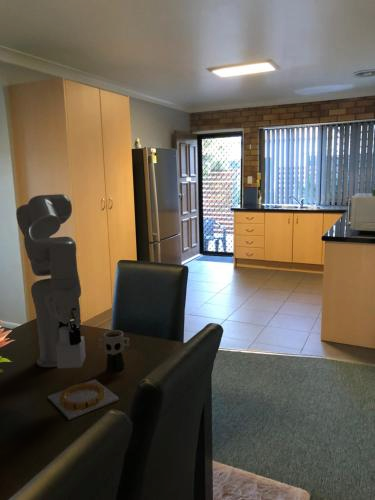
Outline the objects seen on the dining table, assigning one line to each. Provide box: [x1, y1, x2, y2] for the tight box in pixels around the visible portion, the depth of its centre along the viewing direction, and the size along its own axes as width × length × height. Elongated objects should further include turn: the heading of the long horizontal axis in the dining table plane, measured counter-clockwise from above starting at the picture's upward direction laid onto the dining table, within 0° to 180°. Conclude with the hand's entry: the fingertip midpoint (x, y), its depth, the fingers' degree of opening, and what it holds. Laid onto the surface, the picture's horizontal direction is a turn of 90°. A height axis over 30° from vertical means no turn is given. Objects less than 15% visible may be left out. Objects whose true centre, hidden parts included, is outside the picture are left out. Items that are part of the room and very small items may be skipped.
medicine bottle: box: [55, 323, 87, 369], centre depth 124 cm, size 7×7×12 cm
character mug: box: [97, 329, 130, 372], centre depth 147 cm, size 11×7×13 cm, turn 94°
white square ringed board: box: [47, 378, 120, 421], centre depth 128 cm, size 16×16×2 cm
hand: (70, 339), depth 124 cm, fingers closed on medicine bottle, 7 cm apart
